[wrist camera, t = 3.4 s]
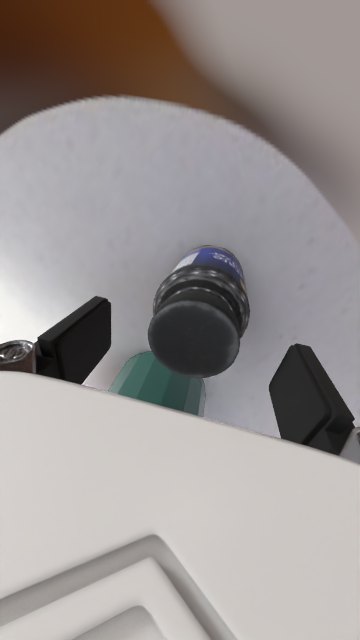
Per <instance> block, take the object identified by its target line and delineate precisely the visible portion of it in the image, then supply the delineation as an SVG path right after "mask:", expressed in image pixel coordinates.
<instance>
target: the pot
mask: <svg viewBox="0 0 360 640" xmlns="http://www.w3.org/2000/svg"><path fill="white" fill-rule="evenodd" d="M108 392H111V393H114V394H118V395H122V396H126V397H130V398H133V399H137V400H141V401H145V402H148V403H152V404H156V405H160V406H163V407H167V408H171V409H175V410H178V411H182V412H186V413H189V414H193V415H197V416H200V417H203V413H204V404H205V386H204V383H203V380H202V378H192V377H186V376H183V375H179V374H177V373H174V372H173V371H171V370H169V369H167V368H166V367H165V366H164V365H162V364H161V363H160V362H159V361H158V360H157V358H156V357H155V356H154V354H153V352H144V353H141V354H138V355H135V356H134V357H132V358H131V359H130V360H128V361H127V362H126V364H125V365H124V367H123V368H122V370H121V371H120V373H119V375H118V376H117V378H116V379H115V381H114V382H113V384H112V386H111V387H110V389H109V390H108Z"/></svg>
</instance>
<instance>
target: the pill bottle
mask: <svg viewBox="0 0 360 640" xmlns="http://www.w3.org/2000/svg"><path fill="white" fill-rule="evenodd" d="M249 317H250V309H249V303H248V298H247V293H246V287H245V282H244V278H243V272H242V268H241V266H240V263H239V261H238V260H237V259H236V257H235V256H234V255H233V254H232V253H230V252H229V251H228V250H226V249H224V248H220V247H214V246H210V245H207V246H202V247H199V248H196V249H194V250H192V251H191V252H189V253H188V254H187V255H186V256H185V257H184V258H183V259H182V261H181V262H180V263H179V264H178V265H177V266H176V268H175V269H174V270H173V271H172V272H171V274H170V275H169V276H168V277H167V278H166V279H165V280H164V281H163V283H162V284H161V285H160V287H159V289H158V290H157V293H156V295H155V298H154V302H153V318H152V320H151V322H150V326H149V329H148V340H149V345H150V348H151V350H152V352H153V354H154V356H155V357H156V358H157V360H158V361H159V362H160V363H161V364H162V365H164V366H165V367H166V368H167V369H169V370H171V371H173V372H174V373H177V374H179V375H183V376H186V377H192V378H206V377H211V376H214V375H217V374H219V373H222V372H223V371H225V370H226V369H227V368H229V367H230V366H231V365H232V363H233V362H234V360H235V359H236V357H237V355H238V352H239V347H240V338H241V337H242V336H243V334H244V332H245V330H246V328H247V325H248V321H249Z"/></svg>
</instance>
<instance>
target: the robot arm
mask: <svg viewBox="0 0 360 640" xmlns="http://www.w3.org/2000/svg"><path fill="white" fill-rule="evenodd" d="M110 346H111V303H110V302H108V299H106V298H102V297H98V296H95V297H94V298H92V299H91V300H89V301H88V302H87V303H85V304H84V305H82V306H81V307H80V308H78V309H77V310H75V311H74V312H73V313H71V314H70V315H68V316H67V317H66V318H64V319H63V320H61V321H60V322H59V323H57V324H56V325H54V326H53V327H52V328H50V329H49V330H47V331H46V332H45V333H43V334H42V335H40V336H39V337H38V341H37V342H35V343H34V344H33V343H32V342H30V341H26V340H14V341H9V342H6V343H3V344H0V640H360V427H355V426H354V425H353V423H352V422H353V421H354V420H355V418H354V417H353V415H352V413H351V412H350V410H349V409H348V407H347V405H346V404H345V402H344V401H343V399H342V397H341V396H340V394H339V392H338V391H337V389H336V388H335V386H334V384H333V383H332V381H331V380H330V378H329V376H328V375H327V373H326V371H325V370H324V368H323V367H322V365H321V363H320V362H319V360H318V359H317V357H316V355H315V354H314V352H313V350H312V349H311V347H310V346H306V345H302V344H298V343H297V344H295V345H294V346H293V345H291V346H290V347H289V349H288V351H287V353H286V355H285V356H284V358H283V360H282V362H281V364H280V366H279V367H278V369H277V371H276V373H275V375H274V377H273V378H272V380H271V382H270V384H269V392H270V396H271V400H272V404H273V408H274V412H275V416H276V420H277V424H278V428H279V432H280V436H281V439H280V438H277V437H273V436H270V435H266V434H262V433H259V432H255V431H252V430H248V429H244V428H241V427H237V426H233V425H230V424H226V423H223V422H219V421H215V420H212V419H208V418H204V417H200V416H197V415H193V414H189V413H186V412H182V411H178V410H175V409H171V408H167V407H163V406H160V405H156V404H152V403H148V402H145V401H141V400H137V399H133V398H130V397H126V396H122V395H118V394H114V393H111V392H107V391H103V390H99V389H95V388H92V387H88V386H84V385H81V384H82V383H83V382H84V381H85V379H86V378H87V377H88V376H89V374H90V373H91V372H92V370H93V369H94V368H95V367H96V365H97V364H98V363H99V362H100V360H101V359H102V358H103V356H104V355H105V354H106V353H107V351H108V350H109V349H110Z"/></svg>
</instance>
